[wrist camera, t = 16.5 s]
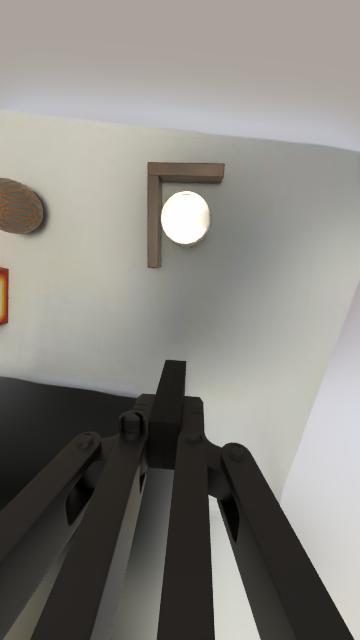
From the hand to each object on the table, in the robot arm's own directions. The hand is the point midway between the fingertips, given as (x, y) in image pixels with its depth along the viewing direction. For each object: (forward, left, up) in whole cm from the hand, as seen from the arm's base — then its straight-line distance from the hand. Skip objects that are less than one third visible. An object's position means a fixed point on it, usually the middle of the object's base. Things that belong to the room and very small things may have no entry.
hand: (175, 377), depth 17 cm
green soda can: (0, -12, -23) cm, 26 cm away
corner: (+1, -13, -22) cm, 26 cm away
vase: (+25, -14, -23) cm, 36 cm away
